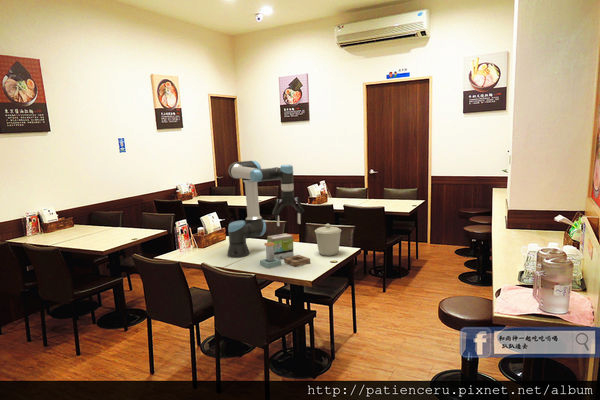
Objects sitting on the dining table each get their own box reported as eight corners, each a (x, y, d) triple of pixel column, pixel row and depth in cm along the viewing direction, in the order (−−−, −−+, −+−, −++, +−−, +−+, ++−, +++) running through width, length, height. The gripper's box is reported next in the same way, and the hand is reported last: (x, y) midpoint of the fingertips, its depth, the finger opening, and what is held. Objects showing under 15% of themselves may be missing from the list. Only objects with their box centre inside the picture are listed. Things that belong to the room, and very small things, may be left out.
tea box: (274, 260, 263) (273, 238, 261) (267, 257, 272) (266, 236, 270) (294, 256, 271) (293, 235, 269) (286, 253, 280) (285, 232, 278)
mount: (259, 264, 255) (259, 260, 255) (273, 261, 261) (272, 257, 260) (268, 268, 247) (267, 263, 247) (281, 265, 253) (281, 260, 252)
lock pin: (265, 265, 254) (264, 243, 252) (271, 263, 257) (270, 242, 255) (269, 266, 251) (268, 244, 249) (275, 265, 253) (274, 243, 251)
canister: (311, 256, 270) (310, 225, 267) (321, 249, 286) (320, 220, 283) (336, 258, 262) (335, 227, 259) (345, 251, 278) (344, 221, 275)
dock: (284, 262, 258) (284, 258, 257) (299, 259, 265) (299, 254, 264) (295, 267, 248) (294, 262, 248) (310, 263, 255) (310, 258, 254)
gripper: (269, 192, 235) (271, 228, 238) (308, 189, 244) (309, 223, 247) (266, 191, 242) (267, 225, 245) (304, 188, 251) (305, 221, 254)
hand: (288, 224), depth 246 cm, fingers open, 13 cm apart
